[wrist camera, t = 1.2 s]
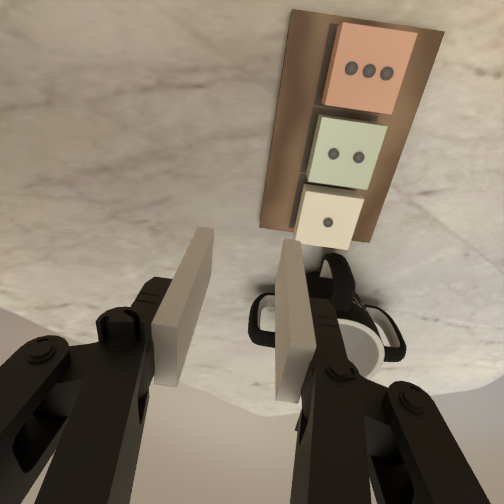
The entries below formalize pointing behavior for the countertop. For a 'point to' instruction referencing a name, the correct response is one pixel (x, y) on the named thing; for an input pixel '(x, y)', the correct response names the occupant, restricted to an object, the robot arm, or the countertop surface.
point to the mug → (342, 318)
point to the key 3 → (367, 67)
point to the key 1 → (327, 216)
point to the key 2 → (344, 151)
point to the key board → (309, 107)
